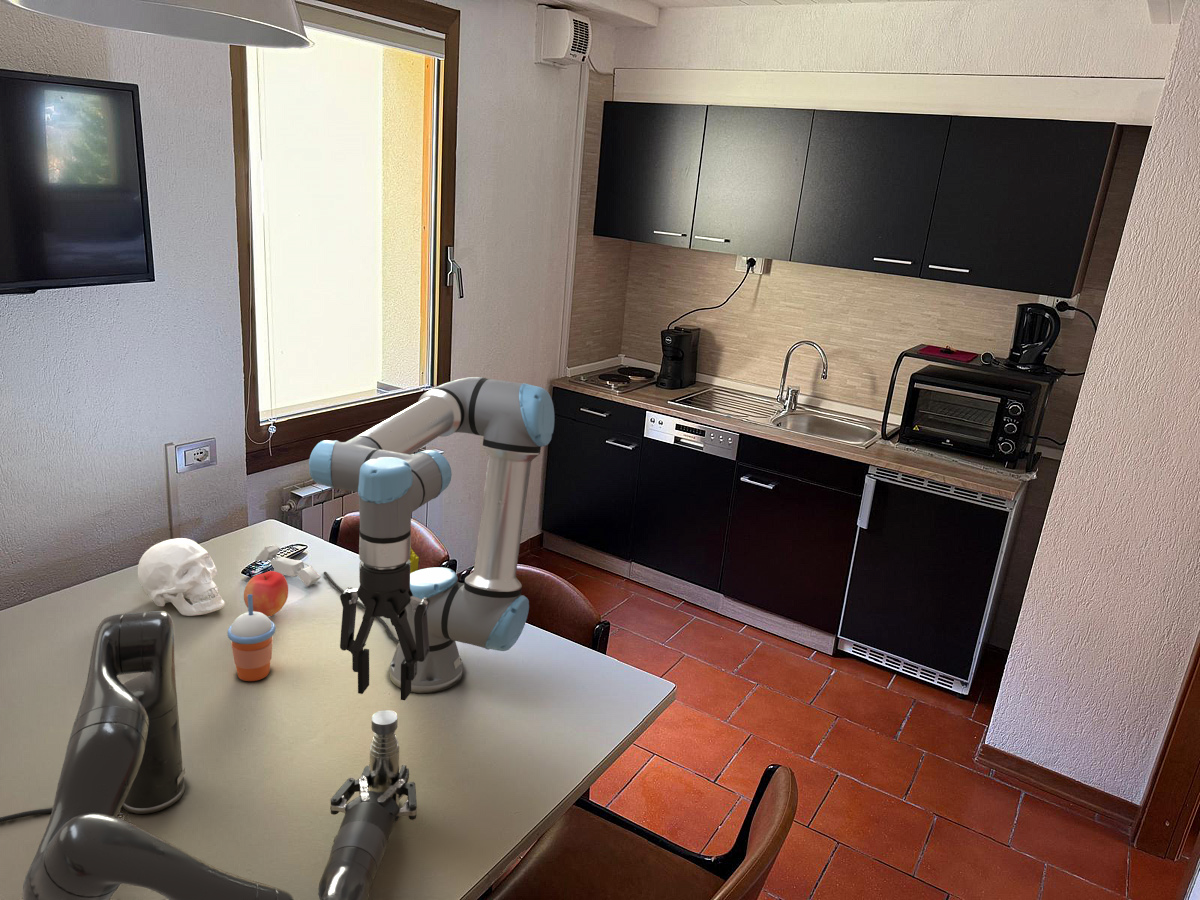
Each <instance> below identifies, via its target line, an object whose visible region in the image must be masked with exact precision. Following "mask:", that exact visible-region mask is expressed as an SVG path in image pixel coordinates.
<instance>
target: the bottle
mask: <svg viewBox="0 0 1200 900" xmlns="http://www.w3.org/2000/svg"><path fill="white" fill-rule="evenodd" d="M369 764H370V786H369V791H375V792H386V790H387V789H388V788H389V787H390V786H391V785H392V786H393V785H394V784H395V783H396V782H397V778H398V775H399V772H400V744H399V740H398V737H397V733H396V730H395V731H394V732H393V733H391V734H387V735H379V734H376V733H374V732H373V735H372V739H371V742H370V745H369ZM398 806H399V807H400V801H399V802H398Z"/></svg>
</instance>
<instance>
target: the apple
mask: <svg viewBox="0 0 1200 900" xmlns="http://www.w3.org/2000/svg"><path fill="white" fill-rule="evenodd" d="M249 594H252V598H253V611H255V612H260V613H263V614H265V615H266V616H267V617H268V618H269V617H273V616H275V615H276V614H278V613H279V612H280V611H281V610H282V609H283V607H284V606H285V605H286V603H287V600H288V597H289V584H288V581H287V579H286V577H285V575H282V574H281V573H278V572H275V571H268V570H267V571H266V572H264V573H259V574H255V575H254V576H253V577H251V578H250V579H249V580H248V582H247V583H246V585H245V587H244V590H243V601H244V604H245V607H247V608H248V595H249Z"/></svg>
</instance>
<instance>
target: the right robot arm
mask: <svg viewBox="0 0 1200 900" xmlns="http://www.w3.org/2000/svg"><path fill="white" fill-rule="evenodd" d="M554 430H555V408H554V402H553V399H552V397H551V394H550V393H549V392H548V390H546V389H545V388H543V387H541V386H536V385H533V384H529V383H526V382H525V383H522V382H515V381H507V380H501V379H500V380H499V379H494V378H493V379H492V378H486V377H481V376H470V377H463V378H458V379H455V380H452V381H447V382H445V383H442V384H440V385H437V386H435V387H433V388H430V389H428V391H425V392H424V393H422V394H421V396H420V397H419V398H418V401H417V402H416V403H414V404H412V405H410V406H409V407H407V408H404V409H403V410H401V411H400V412H398V413H396V414H394V415H392V416H391V417H389V418H387V419H385V420H383V421H381V422H380V423H378V424H376V425H374V426H372V427H371V428H369V429H367V430H365V431H363V432H362V433H360V434H358V435H356V436H354V437H353V438H351V439H348V440H346V441H339V440H337V439H336V440H328V439H326V440H320V442H318V443H317V444H316V445H315V446H314V448H313V449H312V451H311V453H310V455H309V458H308V466H309V467H308V468H309V471H308V472H309V476H310V478H311V479H312V480H313V482H315V484H317V485H320V486H324V487H328V488H331V489H332V490H343V491H346V492H347V491H349V492H352V493H357V494H358V514H359V533H358V534H359V540H358V541H359V543H358V558H359V565H358V566H359V568H358V569H359V571H358V572H359V573H358V574H359V586H358V588H353V587H351V586H348V587H347V588H345V590H344V589H343V588H342V587H340V586H339V585H338V584H337V583H336V582H335V581H334V580H333V578H332V577H331V576H330V575H329V574H328V572H327V571H323V575H324V576H325V578H326V579H327V580H328V581H329V583H330V584H331V585H332V586H333V587H334V588H335V589H336V590H337V591H339V592H340V595H339V600H340V602H341V606H342V612H341V613H342V614H341V615H342V616H341V628H340V640H339V648H340V650H341V651H342V652H343V651H348V652H349V653H351V655H352V656H351V657H352V658H351V660H352V663H351V664H352V666H351V668H352V671H353V672H354V673H357V694H360V695H363V694H364V693H365V692H366V690H367V689H368V688H369V686H370V649H369V648H365V646H367V640H368V638H369V635H370V633H371V630H372V628H373V624H374V622H375V619H376V620H377V621H378V622H379V623H381V625H382V626H383V627H384V629H385V630H386V632H387V634H388V636H389V638H390V639H391V640H392V641H393V642H394V643H396V644H397V645H396V648H395V651H394V653H393V656H392V659H391V660H390V665H389V679H390V681H391V682H392V683H393V684H394V685H395V686H396V687H398V688H399V689H400V701H406V700H407V699H408V697H409V696H410V695H411V693H416V694H430V693H431V694H432V693H438V692H441V691H445V690H447V689H450V688H451V687H453V686H455V685H456V684H457V683H458V682H459V681H460V680H461V679H462V676H463V672H464V664H463V660H462V657H461V656H460V653H459V649H458V646H457V642H459V643H463V644H466V645H467V644H468V645H470V646H471V645H472V646H476V647H479V648H482V649H485V650H494V651H499V652H505V651H508V650H510V649H511V648H512V647H513V646H515V644H516V643H517V641H518V640H519V638H520V636H521V635H522V632H523V630H524V628H525V626H526V623H527V619H528V615H529V610H530V601H529V599H528V597H526V596H525V595H522V586H523V585H522V583H521V581H520V580H519V579H518V578H517V569H518V562H519V554H520V547H521V540H522V532H523V526H524V517H525V510H526V503H527V495H528V489H529V488H528V487H529V481H530V474H531V465H532V462H533V460H534V459H536V458H537V457H539V456H540V454H541V448H543V447H546V446H548V445H549V444H550V442H552V441H551V440H552V438H553V434H554ZM456 433H461V434H469V435H475V436H481V437H483V438H482V448H483V449H484V451H485V452H486V453H487V455H488V459H487V460H488V461H487V466H486V475H485V482H484V490H483V497H482V505H481V511H480V512H481V513H480V520H479V528H478V534H477V535H478V536H477V541H476V542H477V543H476V548H475V558H474V564H473V565H474V566H473V571H472V572H471V573H470V574H468V575H467V576H466V577H465V578H464V582H459V581H458V580H459V579H458V578H459V577H458V575H457V573H456V571H454V570H453V569H451V568H448V567H434V566H433V567H427V568H421V569H418V570H417V571H415V572H412V573H410V560H409V559H410V550H412V547H411V545H412V544H411V543H412V533H411V532H412V528H411V527H412V513H413V512H415V511H416V510H418V509H419V508H420V507H423V506H424V505H426V504H427V503H429V502H430V501H432V500H435V499H437V498H438V497H439V496H440V495H441V494H442V493H443V492H444V491H445V490H447V488H448V487H449V485H450V484H451V481H452V474H453V473H452V466H451V465H450V462H449V461H448V460H447V458H446V457H445V456H444V455H443V454H442V453H440V452H439V451H436V450H433V449H426V450H420V449H421V448H423V447H424V446H426V445H427V444H429V443H431V442H432V441H435V439H437V438H444V437H449V436H451V435H452V434H456ZM419 450H420V451H419ZM415 452H416V453H415ZM358 600H360V601H358ZM357 606H359V608H361V609H363V610H365V611H364V613H363V615H362V621H361V623H360V625H359V628H358V631H357V633H356V637H355V630H356V629H355V628H356V617H357ZM383 618H385V619H387V620H390V624H391V626H393V627H394V630H395V633H396V636H397V638H396V637H395V636H394V634H393V633H392V631H391V629H390V628H389V626H388V624H387V622H385V620H384V619H383Z"/></svg>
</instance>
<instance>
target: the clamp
mask: <svg viewBox="0 0 1200 900" xmlns="http://www.w3.org/2000/svg"><path fill="white" fill-rule="evenodd" d="M280 549H281V547H279V546H278V545H277V544H272V545H266V546H264V547H263V549H262V550H261V551H260V552H259V554H258V555H257V556H256V557H255V559H254V562H255V563H256V561H259V560H262V561H268V560H271V562H270V563H269V564H271V565H272V566H273V568H274V571H275V572H278V573H281V574H282V575H283V576H288V577H292V578H296V577H298V578H299V579H300V580H301V582H303V584H304V585H305V587H309V586H312V585H314V584H316V583H318V582H319V580H320V579H321V578H322V577H321V575H320V574H319V573H318V572H317V570H315V569H314V568H313V566H312V565H310V564H309V565H308V564H307V563H305V562H304V561H303V560H301V559H300V560H299V559H292V558H289V557H285V556H278V553H279V551H280ZM273 558H274V559H273ZM272 559H273V560H272ZM305 566H306V567H305ZM270 571H271V570H270Z"/></svg>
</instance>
